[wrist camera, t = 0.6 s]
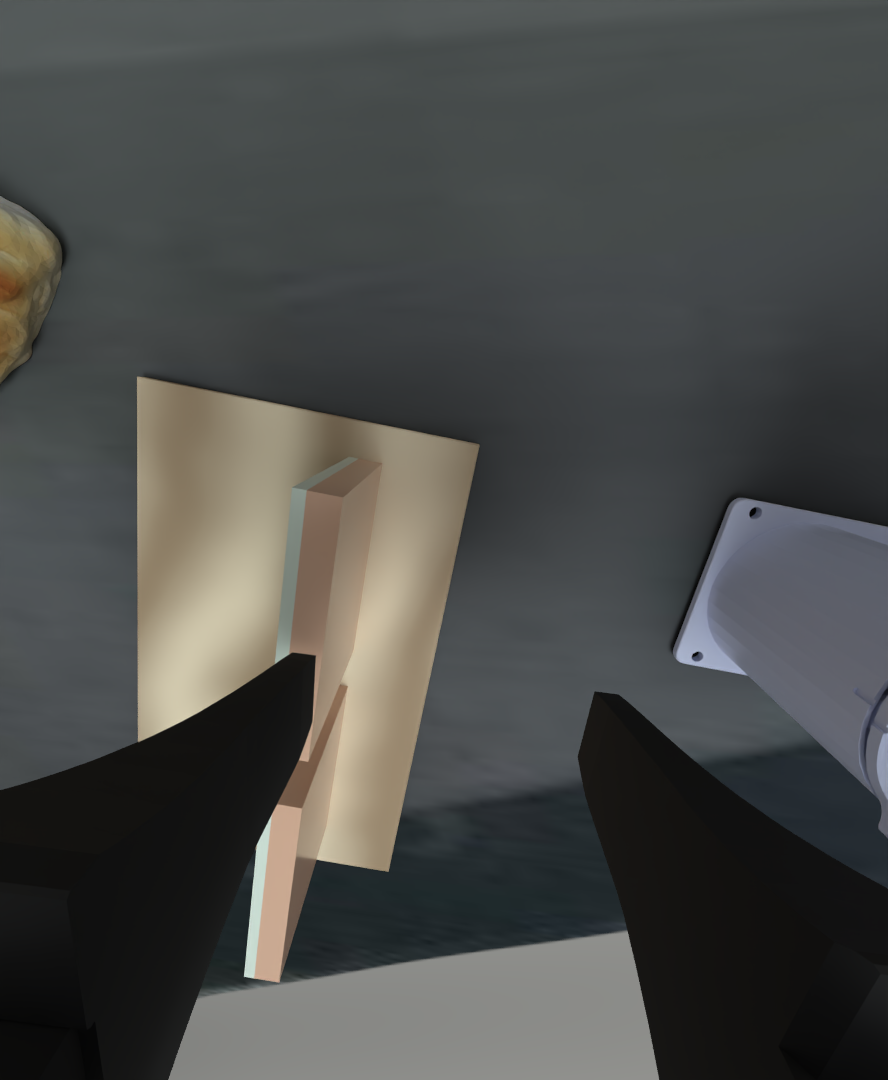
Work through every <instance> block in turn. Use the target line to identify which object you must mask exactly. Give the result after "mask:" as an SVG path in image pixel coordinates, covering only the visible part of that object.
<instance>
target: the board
mask: <svg viewBox="0 0 888 1080" xmlns="http://www.w3.org/2000/svg"><path fill="white" fill-rule="evenodd" d="M478 450H479V444H476V443H471V442H466V441H461V440H456V439H451V438H446V437H441V436H436V435H431V434H426V433H421V432H416V431H412V430H407V429H402V428H397V427H392V426H387V425H382V424H377V423H372V422H367V421H362V420H357V419H352V418H347V417H342V416H337V415H332V414H327V413H322V412H317V411H312V410H307V409H302V408H297V407H292V406H287V405H282V404H277V403H272V402H267V401H262V400H257V399H252V398H247V397H242V396H237V395H232V394H227V393H222V392H217V391H212V390H207V389H202V388H197V387H192V386H187V385H182V384H177V383H172V382H167V381H162V380H158V379H153V378H148V377H137V515H138V742H139V741H142V740H144V739H146V738H149V737H151V736H153V735H155V734H157V733H159V732H161V731H163V730H165V729H167V728H170V727H172V726H174V725H176V724H178V723H180V722H182V721H183V720H185V719H187V718H189V717H191V716H193V715H195V714H197V713H198V712H200V711H202V710H203V709H205V708H207V707H208V706H210V705H212V704H214V703H215V702H217V701H219V700H220V699H222V698H224V697H225V696H227V695H229V694H230V693H232V692H234V691H235V690H237V689H238V688H240V687H241V686H243V685H244V684H246V683H247V682H249V681H250V680H252V679H253V678H255V677H256V676H258V675H260V674H261V673H262V672H264V671H265V670H267V669H268V668H270V667H271V666H273V665H274V664H275V656H276V646H277V636H278V626H279V615H280V605H281V595H282V585H283V574H284V564H285V554H286V544H287V534H288V523H289V513H290V503H291V493H292V487H294V486H296V485H298V484H299V483H301V482H303V481H305V480H307V479H309V478H311V477H313V476H314V475H316V474H318V473H320V472H322V471H324V470H326V469H327V468H329V467H331V466H333V465H335V464H337V463H339V462H341V461H342V460H344V459H346V458H348V457H353V458H358V459H363V460H368V461H373V462H378V463H383V464H382V470H381V477H380V483H379V490H378V496H377V503H376V509H375V516H374V522H373V528H372V535H371V541H370V548H369V554H368V561H367V567H366V574H365V580H364V587H363V593H362V600H361V606H360V613H359V619H358V626H357V632H356V639H355V645H354V651H353V653H352V656H351V658H350V661H349V663H348V666H347V668H346V671H345V673H344V676H343V678H342V680H341V683H340V685H343V686H348V691H347V697H346V703H345V710H344V716H343V723H342V729H341V736H340V742H339V749H338V755H337V762H336V768H335V775H334V781H333V788H332V794H331V801H330V807H329V814H328V820H327V827H326V830H325V833H324V836H323V840H322V843H321V846H320V850H319V853H318V856H317V860H322V861H328V862H334V863H340V864H346V865H352V866H358V867H364V868H370V869H376V870H381V871H387V872H388V871H389V866H390V861H391V857H392V852H393V847H394V843H395V838H396V833H397V829H398V824H399V819H400V815H401V810H402V805H403V801H404V796H405V791H406V787H407V782H408V777H409V773H410V768H411V763H412V758H413V754H414V749H415V744H416V740H417V735H418V730H419V726H420V721H421V716H422V712H423V707H424V702H425V698H426V693H427V688H428V684H429V679H430V674H431V670H432V665H433V660H434V656H435V651H436V646H437V642H438V637H439V632H440V628H441V623H442V618H443V614H444V609H445V604H446V599H447V595H448V590H449V585H450V581H451V576H452V571H453V567H454V562H455V557H456V553H457V548H458V543H459V539H460V534H461V529H462V525H463V520H464V515H465V511H466V506H467V501H468V497H469V492H470V487H471V483H472V478H473V473H474V469H475V464H476V459H477V455H478ZM255 849H257V845H256V848H255Z"/></svg>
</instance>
